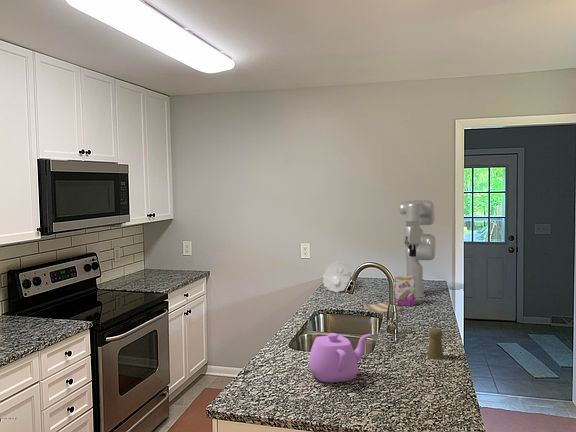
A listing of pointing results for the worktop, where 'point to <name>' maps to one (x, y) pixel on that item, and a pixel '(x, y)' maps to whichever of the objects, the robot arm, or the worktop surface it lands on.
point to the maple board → (380, 308)
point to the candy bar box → (404, 290)
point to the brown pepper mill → (435, 344)
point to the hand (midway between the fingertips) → (412, 256)
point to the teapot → (335, 358)
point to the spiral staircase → (337, 276)
